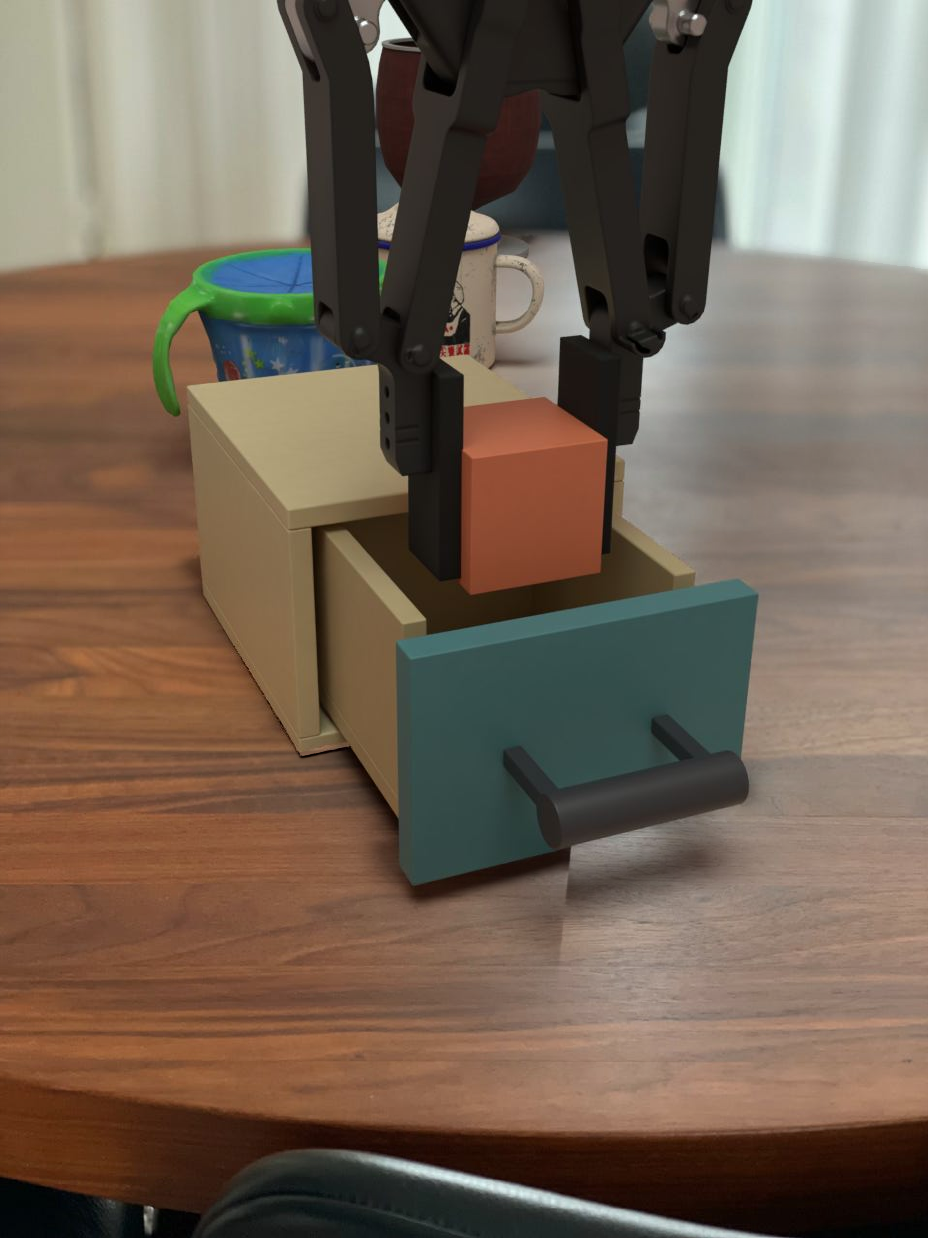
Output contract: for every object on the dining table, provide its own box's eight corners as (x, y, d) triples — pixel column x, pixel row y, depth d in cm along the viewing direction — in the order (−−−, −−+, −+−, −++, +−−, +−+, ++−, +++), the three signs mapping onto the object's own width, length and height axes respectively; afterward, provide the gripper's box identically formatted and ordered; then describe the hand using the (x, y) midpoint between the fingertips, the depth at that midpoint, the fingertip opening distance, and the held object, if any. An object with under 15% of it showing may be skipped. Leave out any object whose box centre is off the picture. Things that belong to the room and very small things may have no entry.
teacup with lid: (345, 378, 93) (340, 191, 88) (380, 340, 101) (377, 167, 96) (530, 390, 91) (535, 200, 86) (551, 351, 99) (557, 175, 94)
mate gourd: (396, 233, 134) (394, -3, 125) (546, 239, 132) (554, 0, 123) (357, 270, 120) (351, 8, 111) (524, 278, 118) (531, 12, 109)
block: (540, 522, 50) (544, 396, 48) (600, 573, 46) (608, 439, 44) (418, 541, 48) (417, 411, 46) (470, 595, 44) (472, 457, 42)
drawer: (813, 880, 44) (844, 653, 41) (467, 975, 40) (470, 732, 37) (555, 634, 59) (563, 452, 55) (284, 685, 55) (274, 492, 51)
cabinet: (612, 693, 56) (626, 459, 52) (300, 758, 52) (287, 509, 48) (466, 552, 68) (467, 353, 64) (202, 595, 64) (185, 384, 60)
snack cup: (186, 504, 73) (169, 305, 69) (141, 440, 82) (123, 259, 78) (468, 463, 79) (469, 277, 74) (398, 407, 88) (395, 237, 83)
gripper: (745, -266, 43) (684, 477, 53) (152, -301, 37) (215, 548, 47) (908, -293, 37) (803, 554, 47) (227, -340, 30) (280, 647, 41)
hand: (509, 549), depth 47 cm, fingers closed on block, 4 cm apart
